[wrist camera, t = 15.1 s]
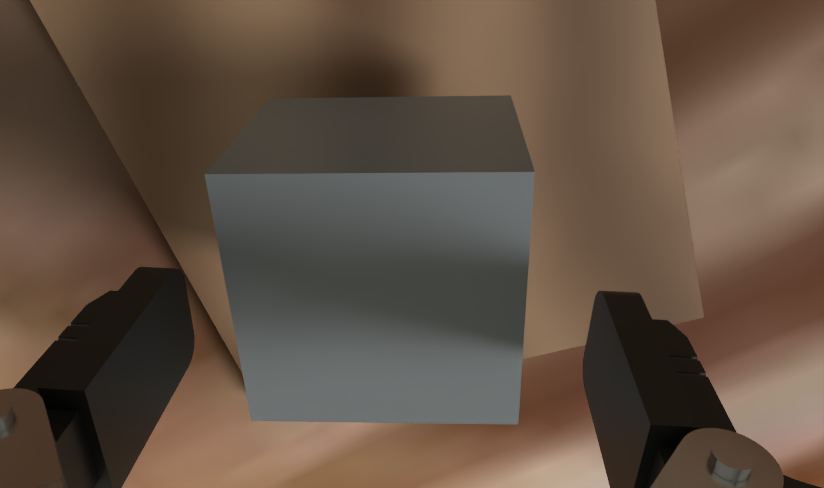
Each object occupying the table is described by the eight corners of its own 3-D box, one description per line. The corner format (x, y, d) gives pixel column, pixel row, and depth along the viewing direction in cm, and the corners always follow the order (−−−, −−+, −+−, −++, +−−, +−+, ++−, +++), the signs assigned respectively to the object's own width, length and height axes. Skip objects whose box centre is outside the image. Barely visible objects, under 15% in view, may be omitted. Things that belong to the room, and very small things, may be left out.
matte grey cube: (269, 98, 16) (204, 174, 12) (510, 95, 16) (534, 171, 12) (296, 299, 19) (251, 420, 15) (501, 300, 19) (517, 424, 14)
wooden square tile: (605, -238, 16) (723, -336, 9) (692, 297, 23) (794, 466, 16) (47, -16, 19) (-175, 34, 12) (274, 396, 26) (214, 572, 19)
